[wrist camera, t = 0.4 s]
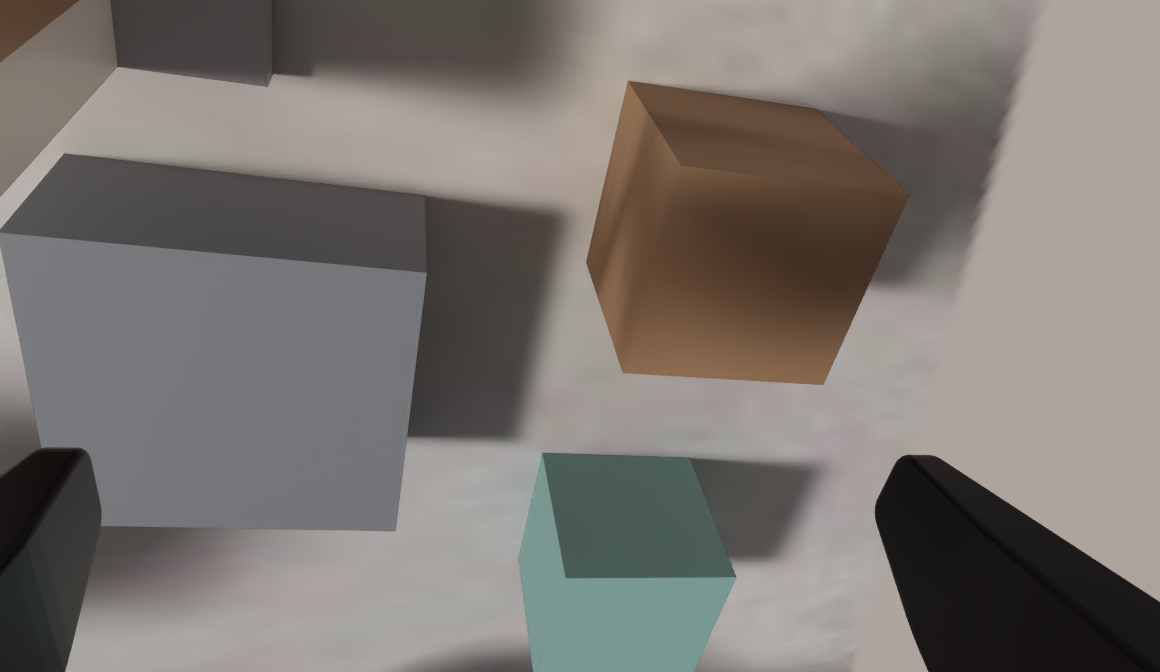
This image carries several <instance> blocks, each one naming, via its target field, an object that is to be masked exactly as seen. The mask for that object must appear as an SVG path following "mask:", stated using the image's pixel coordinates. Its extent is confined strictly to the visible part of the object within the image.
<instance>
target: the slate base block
mask: <svg viewBox="0 0 1160 672" xmlns="http://www.w3.org/2000/svg"><path fill="white" fill-rule="evenodd" d="M0 246H1V251H2V256H3V261H4V266H5V271H6V276H7V281H8V286H9V291H10V296H11V301H12V306H13V311H14V316H15V321H16V326H17V331H18V336H19V341H20V346H21V351H22V356H23V361H24V366H25V371H26V376H27V381H28V386H29V390H30V395H31V400H32V405H33V410H34V415H35V420H36V425H37V430H38V435H39V440H40V445H41V448H44V447H78V448H82V449H84V450H86V451H87V452H88V454H89V456H90V458H91V461H92V466H93V470H94V475H95V480H96V484H97V489H98V494H99V498H100V503H101V510H102V518H101V526H128V527H186V528H244V529H302V530H360V531H396V523H397V515H398V507H399V499H400V490H401V482H402V474H403V466H404V458H405V449H406V441H407V433H408V425H409V416H410V408H411V400H412V392H413V384H414V375H415V367H416V359H417V351H418V342H419V334H420V326H421V318H422V310H423V301H424V293H425V285H426V277H427V255H426V216H425V196H424V195H416V194H407V193H399V192H390V191H381V190H373V189H364V188H356V187H347V186H338V185H330V184H321V183H313V182H304V181H295V180H287V179H278V178H269V177H261V176H252V175H244V174H235V173H226V172H218V171H209V170H201V169H192V168H183V167H175V166H166V165H158V164H149V163H140V162H132V161H123V160H115V159H106V158H97V157H89V156H80V155H71V154H63V156H62V157H61V158H60V159H59V160H58V162H57V163H56V164H55V165H54V166H53V168H52V169H51V170H50V171H49V172H48V173H47V175H46V176H45V177H44V178H43V179H42V181H41V182H40V183H39V184H38V185H37V187H36V188H35V189H34V190H33V191H32V192H31V194H30V195H29V196H28V197H27V198H26V200H25V201H24V202H23V203H22V204H21V206H20V207H19V208H18V209H17V210H16V211H15V213H14V214H13V215H12V216H11V217H10V219H9V220H8V221H7V222H6V223H5V225H4V226H3V227H2V228H1V229H0Z"/></svg>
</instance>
